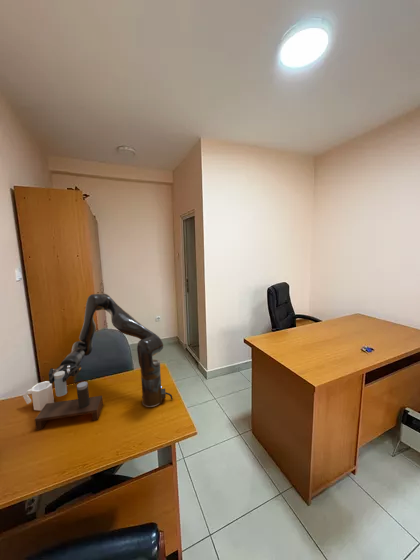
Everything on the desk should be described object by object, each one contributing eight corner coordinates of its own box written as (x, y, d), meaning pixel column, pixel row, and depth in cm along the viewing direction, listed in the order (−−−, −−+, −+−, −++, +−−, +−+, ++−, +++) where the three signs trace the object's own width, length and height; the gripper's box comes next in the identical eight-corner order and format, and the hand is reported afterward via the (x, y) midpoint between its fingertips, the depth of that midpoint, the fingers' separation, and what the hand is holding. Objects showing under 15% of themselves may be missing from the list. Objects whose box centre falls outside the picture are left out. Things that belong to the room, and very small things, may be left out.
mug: (57, 397, 116) (54, 379, 114) (50, 408, 108) (47, 389, 106) (29, 401, 113) (27, 383, 111) (20, 413, 104) (17, 394, 103)
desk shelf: (103, 404, 110) (102, 395, 109) (97, 419, 100) (96, 409, 99) (47, 413, 105) (46, 403, 104) (36, 429, 95) (34, 419, 94)
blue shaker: (68, 389, 106) (66, 370, 104) (65, 395, 102) (62, 375, 100) (58, 391, 105) (56, 371, 103) (54, 397, 101) (51, 376, 99)
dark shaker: (90, 400, 105) (88, 380, 104) (88, 407, 101) (85, 386, 100) (80, 402, 105) (78, 382, 103) (77, 408, 100) (75, 388, 99)
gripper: (55, 356, 114) (37, 375, 97) (86, 353, 117) (74, 370, 100) (57, 370, 115) (39, 391, 98) (87, 366, 118) (75, 386, 102)
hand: (57, 380), depth 100 cm, fingers closed on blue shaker, 4 cm apart
